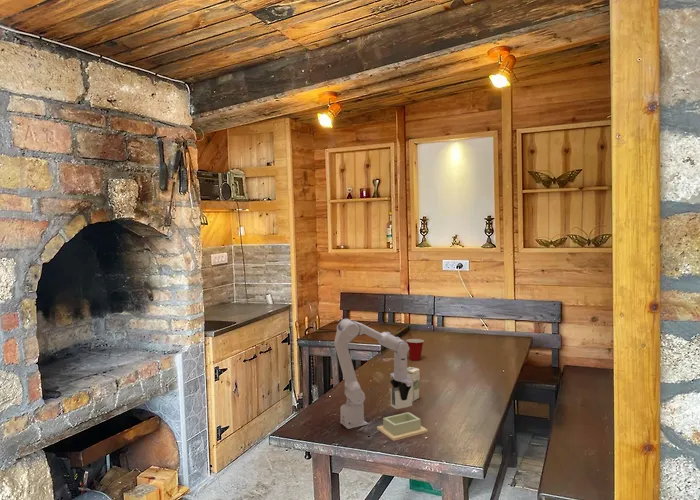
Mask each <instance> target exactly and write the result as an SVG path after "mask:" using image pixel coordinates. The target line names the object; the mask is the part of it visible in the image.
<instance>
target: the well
mask: <svg viewBox="0 0 700 500" xmlns="http://www.w3.org/2000/svg"><path fill="white" fill-rule="evenodd" d="M376 430H378V431H379V432H381V433H382V434H383V435H385V436H386V438H388V439H390V440H391V441H393V442H395V441H399V440H402V439H408V438H412V437H415V436H420V435H423V434H426V433H428V432H429V431H428V429H427V428H426V427H424V426H422V419H421V418H420V417H418V416H416V415H415V414H413V413H411V412H409V411H407V412H403V413H399V414H394V415H391V416H386V417H383V418H382V425H378V426H376Z"/></svg>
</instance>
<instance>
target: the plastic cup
mask: <svg viewBox="0 0 700 500" xmlns="http://www.w3.org/2000/svg"><path fill="white" fill-rule="evenodd" d="M405 342H407V344H408V346H409V351H408V354H409V360H411V361H414V362H419V361H420V360H421V357H422V356H421V355H422V350H423V346H424V342H425V340H424V339H420V338H409V339H406V340H405Z"/></svg>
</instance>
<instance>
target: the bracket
mask: <svg viewBox="0 0 700 500" xmlns="http://www.w3.org/2000/svg"><path fill="white" fill-rule="evenodd" d="M390 406H391V407H392V408H394V409H395V410H399V409H404V408H408V407H412V406H413V401H412V388H410V390H409V393H408V396H407V400H402V398H401V391H400V388H399V386H397V387H393V386H392V387H390Z"/></svg>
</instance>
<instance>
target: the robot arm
mask: <svg viewBox="0 0 700 500" xmlns="http://www.w3.org/2000/svg"><path fill="white" fill-rule="evenodd" d="M362 335H366V336H368V337H369V338H370V337H371V338H372V339H376V340H377V343H378V344H379V345H381V346H382V347H385V348H387V349H389V350H391V351H393V372H391V373H389V374H390V377H389V378H390V379H392V380H389V381H390V382H389V383H390V384H391V386H392V387H397V386H399V388H400V391H401V398H402V400H407V396H408V393H409V390H410V388H411V386H412V381H410V379H409V378H410V376H408V375H407V368H408V354H409V346H408V344H407V341H406V340H404V339H401V338H400V337H399V336H395V335H393V334H392V333H391V332H389V331H382V332H379V331H377V330H376V329H373V328H371V327H370V326H367V325H365V324H364V323H361V322H358V321H356V320H351V319H350V318H343V319H341V320H340V321H339V322H338V324H337V325H336V333H335V336H334V341H333V342H334V343H333V345H334V348H335V351H336V354H337V358H338V359H337V360H338V362H339V366H340V369H341V372H342V375H343V380H344V383H343V385H344V396H345V398H346V403H344V404H342V405H340V407H339V408H340V410H339V411H340V421H339V423H340V424H341V425H343V426H344V427H345V428H346V429H348V430H349V429H350V430H351V429H354V428H358V427H362V426H368V424H369V423H368V422H367V421H365V413H364V411H365V409H364V405H365V404H364V402H365V401H366V395H365V394H366V393H365V392H364V391H363V390H362V389H361V385H360V382H358V379H357V375H356V372H355V369H354V368H355V367H354V364H353V360H352V357H351V354H350V349H349V347H348V346H349V344H350V343H351V341H353V340H354V339H355V338H356V337H358V336H362Z"/></svg>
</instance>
